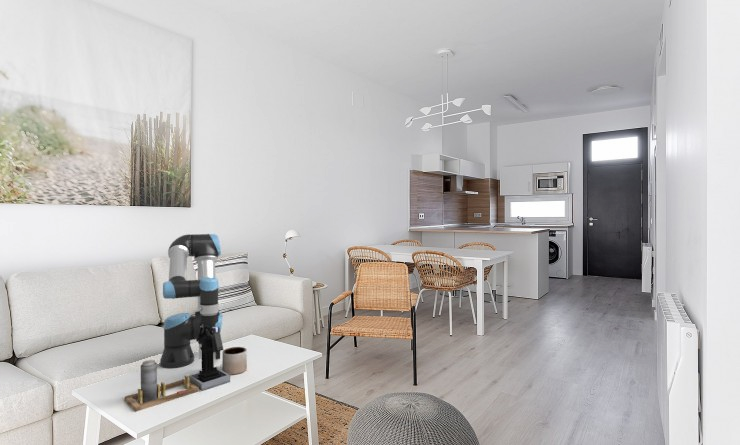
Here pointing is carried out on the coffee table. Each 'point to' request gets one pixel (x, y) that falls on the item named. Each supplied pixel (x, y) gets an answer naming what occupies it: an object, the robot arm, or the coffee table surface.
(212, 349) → the chess piece
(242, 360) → the planter
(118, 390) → the coffee table surface
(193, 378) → the tray
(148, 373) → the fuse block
